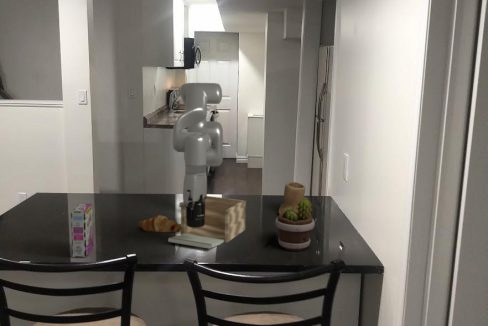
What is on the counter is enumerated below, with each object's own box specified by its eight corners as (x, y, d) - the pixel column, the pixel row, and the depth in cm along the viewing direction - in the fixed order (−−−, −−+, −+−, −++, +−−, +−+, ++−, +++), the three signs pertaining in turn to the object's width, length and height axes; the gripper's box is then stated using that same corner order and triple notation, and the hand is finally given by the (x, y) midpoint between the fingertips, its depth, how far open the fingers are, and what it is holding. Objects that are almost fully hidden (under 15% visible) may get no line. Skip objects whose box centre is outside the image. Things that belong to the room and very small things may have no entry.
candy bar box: (87, 257, 161) (85, 211, 158) (72, 258, 161) (69, 211, 158) (94, 246, 172) (92, 203, 169) (80, 246, 172) (78, 203, 169)
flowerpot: (274, 253, 169) (276, 199, 165) (274, 239, 184) (275, 189, 180) (315, 254, 168) (318, 200, 164) (311, 240, 183) (313, 190, 180)
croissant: (188, 240, 191) (192, 221, 193) (179, 236, 182) (183, 216, 184) (141, 233, 197) (145, 215, 199) (130, 229, 188) (135, 209, 190)
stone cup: (303, 219, 211) (304, 186, 208) (276, 217, 213) (277, 185, 211) (305, 210, 225) (306, 179, 223) (280, 208, 228) (281, 178, 225)
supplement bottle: (201, 228, 168) (202, 196, 166) (183, 227, 170) (183, 195, 168) (207, 223, 175) (207, 192, 173) (189, 222, 176) (189, 190, 174)
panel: (184, 233, 183) (168, 237, 172) (223, 239, 176) (209, 244, 165) (184, 236, 183) (168, 241, 172) (223, 243, 176) (209, 248, 165)
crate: (201, 225, 199) (201, 195, 197) (245, 232, 191) (245, 200, 189) (181, 237, 184) (181, 204, 181) (227, 245, 176) (228, 211, 174)
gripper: (198, 164, 178) (198, 210, 181) (174, 172, 162) (174, 222, 165) (215, 166, 175) (215, 212, 178) (193, 174, 160) (193, 224, 163)
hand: (195, 216), depth 172 cm, fingers closed on supplement bottle, 6 cm apart
